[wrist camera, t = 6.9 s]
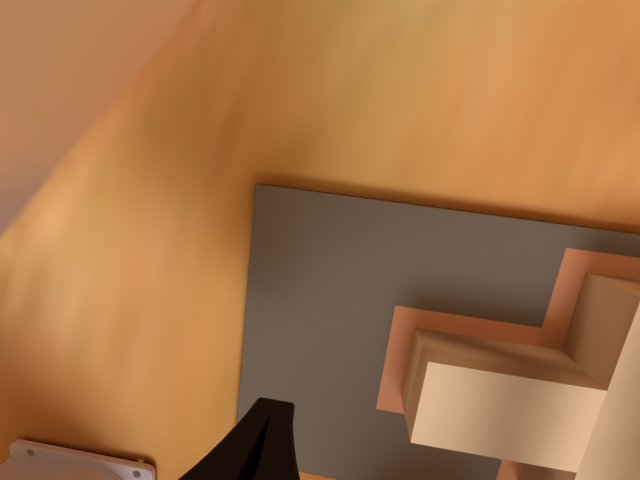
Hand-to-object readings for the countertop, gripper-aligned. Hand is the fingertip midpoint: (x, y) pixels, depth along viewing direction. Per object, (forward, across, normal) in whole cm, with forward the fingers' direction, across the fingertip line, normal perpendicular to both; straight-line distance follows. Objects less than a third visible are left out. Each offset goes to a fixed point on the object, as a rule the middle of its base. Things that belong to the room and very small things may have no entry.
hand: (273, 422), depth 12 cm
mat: (+6, -8, 0) cm, 10 cm away
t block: (+5, -11, 0) cm, 12 cm away
